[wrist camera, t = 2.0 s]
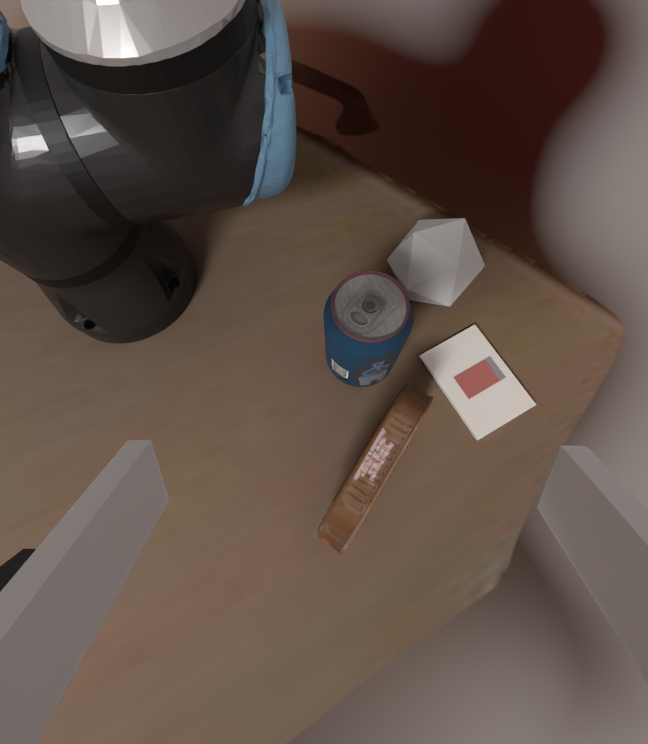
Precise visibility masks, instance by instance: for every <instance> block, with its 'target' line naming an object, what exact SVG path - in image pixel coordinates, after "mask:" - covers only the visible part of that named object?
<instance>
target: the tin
mask: <svg viewBox="0 0 648 744" xmlns="http://www.w3.org/2000/svg"><path fill="white" fill-rule="evenodd" d="M432 400H433V397H432V396H428V395H426V394H424V393H423V392H421V391H419V390H417V389H416V388H414V387H412V386H408V385H407V386H405V387H404V388H403V389H402V390H401V392H400V393H399V395H398V396H397V398H396V399H395V401H394V402H393V404H392V406H391V407H390V409H389V410H388V412H387V413H386V415H385V417H384V418H383V420H382V421H381V423H380V425H379V426H378V428H377V429H376V431H375V433H374V434H373V436H372V437H371V439H370V441H369V442H368V444H367V445H366V447H365V449H364V450H363V452H362V453H361V455H360V457H359V458H358V460H357V462H356V463H355V465H354V467H353V468H352V470H351V472H350V473H349V475H348V477H347V479H346V480H345V482H344V484H343V485H342V487H341V489H340V490H339V492H338V494H337V495H336V497H335V499H334V500H333V502H332V504H331V506H330V507H329V509H328V511H327V513H326V514H325V516H324V518H323V520H322V522H321V524H320V526H319V529H318V535H319V537H320V538H321V539H322V540H323V541H325V542H326V543H327V544H329V545H330V546H331V547H333V548H334V549H335V550H337V551H338V553H339V554H340V555H342V553H343V552H344V551H345V550H346V548H347V547H348V545H349V544H350V542H351V541H352V539H353V537H354V536H355V534H356V533H357V531H358V529H359V528H360V526H361V524H362V523H363V521H364V520H365V517H366V516H367V514H368V513H369V511H370V509H371V507H372V506H373V504H374V502H375V501H376V499H377V497H378V495H379V494H380V492H381V490H382V489H383V487H384V485H385V483H386V482H387V480H388V478H389V477H390V475H391V473H392V471H393V469H394V468H395V466H396V464H397V463H398V461H399V459H400V457H401V456H402V454H403V452H404V451H405V449H406V447H407V445H408V444H409V442H410V440H411V439H412V437H413V435H414V434H415V432H416V430H417V428H418V427H419V425H420V423H421V421H422V420H423V418H424V416H425V414H426V412H427V410H428V408H429V406H430V404H431V402H432Z"/></svg>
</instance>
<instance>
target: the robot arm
mask: <svg viewBox="0 0 648 744" xmlns="http://www.w3.org/2000/svg"><path fill="white" fill-rule="evenodd" d="M21 5H22V10H23V12H24V14H25V16H26V18H27V20H28V22H29V23H30V25H31V27H25V28H20V29H12V28H9V27H8V25H7V20H6V18H5V17H4V15H3V14H2V12H1V11H0V260H2V261H3V262H5V263H7V264H8V265H10V266H11V267H13V268H15V269H16V270H18V271H19V272H21V273H23V274H24V275H26V276H27V277H29V278H30V279H32V280H33V281H35V282H36V283H37V284H38V286H39V287H40V288H41V290H42V291H43V292H44V294H45V295H46V296H47V298H48V299H49V300H50V302H51V303H52V304H53V306H54V307H55V308H56V310H57V311H58V312H59V313H60V315H61V316H62V317H63V318H64V319H65V320H66V321H67V322H68V323H69V324H71V325H72V326H73V327H75V328H76V329H78V330H80V331H82V332H83V333H85V334H87V335H89V336H90V337H92V338H95V339H97V340H100V341H104V342H109V343H129V342H135V341H139V340H142V339H145V338H148V337H150V336H152V335H155V334H156V333H158V332H160V331H162V330H163V329H165V328H166V327H167V326H169V325H170V324H171V323H172V322H173V321H174V320H176V319H177V317H178V316H179V315H180V314H181V313H182V312H183V310H184V309H185V307H186V306H187V304H188V302H189V301H190V299H191V296H192V294H193V291H194V287H195V282H196V268H195V263H194V260H193V257H192V255H191V253H190V251H189V249H188V248H187V246H186V245H185V243H184V242H183V240H182V239H181V237H180V236H179V235H178V234H177V233H176V232H175V231H174V230H173V229H172V228H171V227H170V226H169V225H167V224H166V223H164V222H163V220H168V219H173V218H179V217H184V216H189V215H195V214H200V213H205V212H211V211H216V210H221V209H226V208H232V207H237V206H247V205H249V204H250V203H251V202H253V201H257V200H260V199H264V198H267V197H271V196H275V195H278V194H279V193H281V192H283V191H284V190H285V189H286V188H287V187H288V185H289V183H290V181H291V179H292V176H293V172H294V167H295V159H296V111H295V98H294V93H293V90H292V87H291V86H292V65H291V54H290V47H289V39H288V34H287V28H286V22H285V18H284V14H283V10H282V7H281V3H280V0H21ZM168 502H169V498H168V494H167V491H166V488H165V485H164V481H163V478H162V475H161V472H160V468H159V465H158V462H157V459H156V455H155V452H154V449H153V445H152V442H151V440H128V441H127V442H126V443H125V444H124V445H123V447H122V448H121V449H120V450H119V451H118V453H117V454H116V455H115V456H114V457H113V458H112V460H111V461H110V462H109V463H108V464H107V466H106V467H105V468H104V469H103V470H102V472H101V473H100V474H99V475H98V476H97V478H96V479H95V480H94V481H93V482H92V483H91V485H90V486H89V487H88V488H87V489H86V491H85V492H84V493H83V494H82V495H81V497H80V498H79V499H78V500H77V501H76V502H75V504H74V505H73V506H72V507H71V508H70V510H69V511H68V512H67V513H66V514H65V516H64V517H63V518H62V519H61V520H60V522H59V523H58V524H57V525H56V526H55V527H54V529H53V530H52V531H51V532H50V533H49V535H48V536H47V537H46V538H45V539H44V541H43V542H42V543H41V544H40V545H39V546H38V548H37V549H23V550H21V551H20V552H19V553H18V554H16V555H15V556H14V557H12V558H11V559H10V560H8V561H7V562H6V563H4V564H3V565H2V566H0V744H37V743H38V741H39V739H40V737H41V735H42V734H43V732H44V730H45V728H46V726H47V724H48V723H49V721H50V719H51V717H52V715H53V713H54V711H55V710H56V708H57V706H58V704H59V702H60V700H61V699H62V697H63V695H64V693H65V691H66V689H67V688H68V686H69V684H70V682H71V680H72V678H73V677H74V675H75V673H76V671H77V669H78V667H79V666H80V664H81V662H82V660H83V658H84V656H85V654H86V653H87V651H88V649H89V647H90V645H91V643H92V642H93V640H94V638H95V636H96V634H97V632H98V631H99V629H100V627H101V625H102V623H103V621H104V620H105V618H106V616H107V614H108V612H109V610H110V609H111V607H112V605H113V603H114V601H115V599H116V597H117V596H118V594H119V592H120V590H121V588H122V586H123V585H124V583H125V581H126V579H127V577H128V575H129V574H130V572H131V570H132V568H133V566H134V564H135V563H136V561H137V559H138V557H139V555H140V553H141V552H142V550H143V548H144V546H145V544H146V542H147V540H148V539H149V537H150V535H151V533H152V531H153V529H154V528H155V526H156V524H157V522H158V520H159V518H160V517H161V515H162V513H163V511H164V509H165V507H166V506H167V504H168ZM537 508H538V510H539V512H540V513H541V515H542V516H543V518H544V520H545V521H546V523H547V524H548V526H549V528H550V529H551V531H552V532H553V534H554V535H555V537H556V539H557V540H558V542H559V543H560V545H561V547H562V548H563V550H564V551H565V553H566V555H567V556H568V557H569V559H570V561H571V563H572V564H573V566H574V567H575V569H576V570H577V572H578V574H579V575H580V577H581V578H582V580H583V582H584V583H585V584H586V586H587V588H588V589H589V591H590V593H591V594H592V596H593V598H594V599H595V601H596V602H597V604H598V605H599V607H600V608H601V610H602V612H603V613H604V615H605V617H606V618H607V620H608V621H609V623H610V625H611V626H612V628H613V629H614V631H615V632H616V634H617V636H618V637H619V639H620V640H621V642H622V644H623V645H624V647H625V648H626V650H627V652H628V653H629V655H630V656H631V658H632V660H633V661H634V663H635V664H636V666H637V668H638V669H639V671H640V672H641V674H642V675H643V677H644V678H645V680H646V682H647V683H648V509H647V508H646V507H645V506H644V505H643V504H642V503H641V502H640V501H639V500H638V499H637V498H636V497H635V496H634V495H633V494H632V493H631V492H630V491H629V490H628V489H627V488H626V487H625V486H624V485H623V484H622V483H621V482H620V481H619V480H618V479H617V477H616V476H615V475H613V474H612V472H611V471H610V470H609V469H608V468H607V467H606V466H605V465H604V464H603V463H602V462H601V461H600V460H599V459H598V458H597V457H596V456H595V455H594V454H593V453H592V452H591V451H590V450H589V449H588V448H587V447H586V446H561V447H560V450H559V452H558V455H557V457H556V460H555V462H554V465H553V468H552V470H551V473H550V475H549V478H548V480H547V483H546V486H545V488H544V491H543V493H542V496H541V499H540V501H539V504H538V506H537Z"/></svg>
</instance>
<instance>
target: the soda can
mask: <svg viewBox="0 0 648 744" xmlns="http://www.w3.org/2000/svg"><path fill="white" fill-rule="evenodd" d="M412 324H413V311H412V307H411V304H410V302H409V297H408V295H407V292H406V290H405V289H404V287H403V286H402V285H401V284H400V283H399V282H398V281H397V280H396V279H395V278H393V277H392V276H390V275H388V274H386V273H383V272H379V271H370V270H369V271H360V272H356V273H353V274H351V275H349V276H348V277H346V278H345V279H344V280H342V281H341V282H340V284H339V285H338V286H337V287H336V289H335V290H334V291H333V292H332V293H331V295H330V296H329V298H328V300H327V302H326V305H325V309H324V329H325V344H326V358H327V363H328V365H329V368H330V370H331V371H332V373H333V374H334V375H335V376H336V377H337V378H338V379H339V380H341V381H342V382H344V383H346V384H349V385H352V386H357V387H365V386H370V385H373V384H376V383H378V382H379V381H381V380H382V379H384V378H385V377H386V376H387V374H388V373H389V372H390V370H391V368H392V366H393V364H394V362H395V361H396V359H397V357H398V355H399V353H400V351H401V349H402V347H403V345H404V343H405V341H406V339H407V337H408V335H409V333H410V331H411V328H412Z"/></svg>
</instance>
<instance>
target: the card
mask: <svg viewBox="0 0 648 744" xmlns="http://www.w3.org/2000/svg"><path fill="white" fill-rule="evenodd" d="M419 357H420V359H421V360H422V362H423V363H424V365H425V366H426V368H427V369H428V370H429V372H430V373H431V375H432V376H433V378H434V379H435V381H436V382H437V384H438V385H439V386H440V388H441V389H442V391H443V392H444V394H445V395H446V397H447V398H448V400H449V401H450V402H451V404H452V405H453V407H454V408H455V410H456V411H457V413H458V414H459V416H460V417H461V418H462V420H463V421H464V423H465V424H466V426H467V427H468V429H469V430H470V432H471V433H472V434H473V436H474V437H475V439H476V440H479V439H481V438H482V437H484V436H486V435H487V434H489V433H491V432H492V431H494V430H495V429H497V428H499V427H500V426H502V425H504V424H505V423H507V422H509V421H510V420H512V419H513V418H515V417H517V416H518V415H520V414H522V413H523V412H525V411H527V410H528V409H530V408H531V407H533V406H535V405H536V404H535V402H534V401H533V400H532V398H531V397H530V396H529V394H528V393H527V392H526V391H525V389H524V388H523V387H522V385H521V384H520V383H519V381H518V380H517V379H516V377H515V376H514V375H513V373H512V372H511V371H510V370H509V368H508V367H507V366H506V364H505V363H504V362H503V360H502V359H501V358H500V356H499V355H498V354H497V353H496V351H495V350H494V349H493V347H492V346H491V345H490V343H489V342H488V341H487V339H486V338H485V337H484V335H483V334H482V333H481V332H480V330H479V329H478V328H477V326H476V325H473V326H471V327H469V328H468V329H466V330H464V331H462V332H460V333H459V334H457V335H455V336H453V337H452V338H450V339H448V340H446V341H444V342H443V343H441V344H439V345H437V346H436V347H434V348H432V349H430V350H428V351H427V352H425V353H423V354H421V355H420V356H419Z"/></svg>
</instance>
